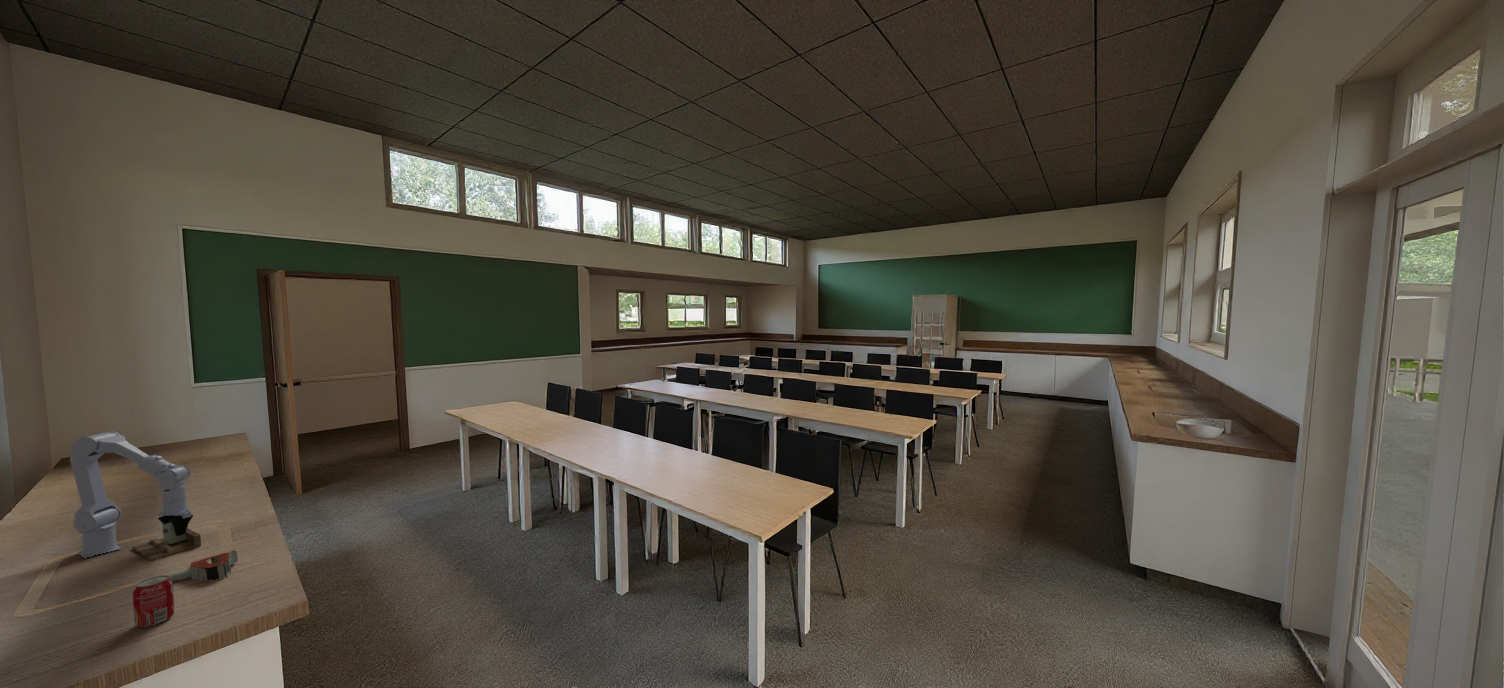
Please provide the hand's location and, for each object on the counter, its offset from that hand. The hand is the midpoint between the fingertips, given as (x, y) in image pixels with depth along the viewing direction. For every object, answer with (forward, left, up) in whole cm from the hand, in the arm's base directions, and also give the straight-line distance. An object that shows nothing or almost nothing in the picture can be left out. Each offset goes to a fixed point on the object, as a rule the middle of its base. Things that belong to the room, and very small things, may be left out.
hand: (176, 533), depth 179 cm
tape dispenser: (+40, -4, -5) cm, 41 cm away
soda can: (+65, -20, -4) cm, 68 cm away
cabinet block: (0, 0, -2) cm, 3 cm away
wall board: (0, -3, -4) cm, 5 cm away
